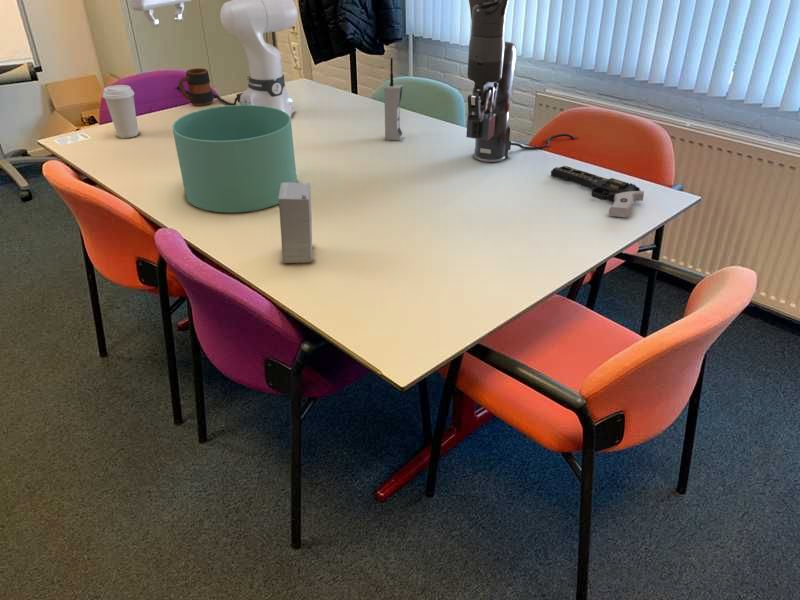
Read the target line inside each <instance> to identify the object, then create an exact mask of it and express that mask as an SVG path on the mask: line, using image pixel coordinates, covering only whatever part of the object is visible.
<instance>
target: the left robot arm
mask: <svg viewBox="0 0 800 600" xmlns="http://www.w3.org/2000/svg"><path fill="white" fill-rule="evenodd" d="M189 2H192V0H128V3H129V6H130V7H131V9H132V10H133V11H138V12H143V15H144V16H145V17H146V19H147V20H148V24H149V27H150V28H158V27H160V24H159V19H156V18H155V16H154V15H153V14H155V13H154V9H158V8H159V9H160V8H164V7H169V6H174V8H175V13H174V14H173V18H174V22H183V21H184V17H183V14H184V9H185V3H189ZM221 6H222V7H220V8H221V9H220V13H219V16H220V22H221V24H222V27H223V28H224V30H225V31H226V32H227V33H228V34H230V35H231V36H233V37H234V38H235V39H236V40H237V41H238V42H239V43H240V44H241V46H242V48H243V50H244V52H245V56H246V60H247V65H248V72H249V75H248V76H246V78H247V79H246V80H247V81H248V82H247V88H246V89H245V90H244V91H243V92H240V93H236V97H235V98H234V101H233V103H230V102H229V101H226V100H225V99H224V98H221V97H220V96H219V95H218V94H215V93H212V94H213V98H217V99H218V100H219V101H220V102H222V103H223V104H225V105H226V106H229V105H237V104H239V105H258V106H267V107H272V108H276V109H279V110H282V111H284V112H285V113H287V114H288V115H289V116H290V118H292V115H293V114H294V112H295V110H294V108H292V107H291V103H292V102H293V99H292V98H290V95H289V91H288V89H287V88H286V87H285V86H286V80H285V79H286V78H285V75H284V74H283V65H282V54H281V52H280V50H279V49H278V48H277V47H276V46H274V45H272V44H270V43H268V42H265V39H264V34H267V33H275V32H281V31H282V32H283V31H285V30H287V29H290V28H292V27H294V26H295V24H296V22H297V20H298V19H297V18H298V9H297V7H296V3H295V2H294V0H229V1H226V2H224V3H223V4H222V5H221ZM176 90H180V88H179V85H177V86H176ZM185 91H186V93H187V94H189V90H187V89H185Z"/></svg>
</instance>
